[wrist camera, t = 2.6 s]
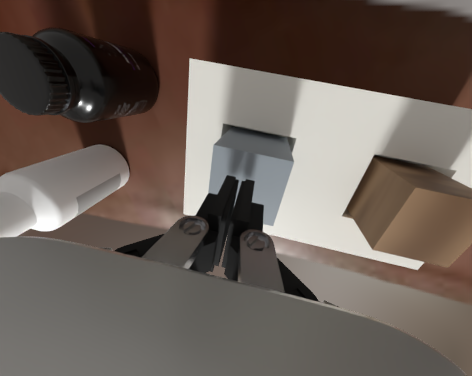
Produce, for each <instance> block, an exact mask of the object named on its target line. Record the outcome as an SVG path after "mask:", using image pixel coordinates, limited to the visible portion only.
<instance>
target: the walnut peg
mask: <svg viewBox="0 0 472 376" xmlns="http://www.w3.org/2000/svg"><path fill="white" fill-rule="evenodd" d="M346 208H347V210H348V211H349V213H350V215H351V216H352V218H353V219H354V221H355V223H356V224H357V226H358V227H359V229H360V231H361V232H362V234H363V236H364V237H365V239H366V240H367V242H368V244H369V245H370V247H371V248H372V250H375V251H380V252H384V253H388V254H392V255H396V256H401V257H405V258H409V259H413V260H418V261H422V262H426V263H430V264H435V265H439V266H443V267H447V268H448V267H449V266H450V265H451V264H452V263H453V262H454V261H455V260H456V259H457V258H458V257H459V256H460V255H461V254H462V253H463V252H464V251H465V250H466V249H467V248H468V247H469V246H470V245H471V244H472V188H470V187H468V186H466V185H464V184H462V183H460V182H458V181H456V180H454V179H452V178H450V177H448V176H446V175H444V174H442V173H440V172H438V171H436V170H434V169H432V168H430V167H428V166H424V165H419V164H414V163H410V162H405V161H400V160H395V159H390V158H385V157H380V156H375V155H374V156H373V158H372V160H371V162H370V164H369V166H368V168H367V169H366V171H365V173H364V175H363V177H362V179H361V181H360V183H359V185H358V186H357V188H356V190H355V192H354V194H353V196H352V198H351V200H350V202H349V203H348V205H347V207H346Z"/></svg>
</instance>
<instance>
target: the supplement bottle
mask: <svg viewBox="0 0 472 376" xmlns="http://www.w3.org/2000/svg"><path fill="white" fill-rule="evenodd" d="M0 94H1V95H2V96H3V98H4V99H5V100H7V101H8V102H9V103H10V104H11V105H13V106H14V107H15V108H16V109H18V110H20V111H22V112H24V113H27V114H29V115H46V114H49V115H61V116H63V117H65V118H67V119H70V120H72V121H76V122H83V123H87V122H95V121H101V120H107V119H113V118H119V117H124V116H130V115H136V114H141V113H144V112H147V111H148V110H150V109H151V108H152V107H153V106H154V104H155V102H156V100H157V97H158V81H157V77H156V74H155V72H154V69H153V68H152V66H151V64H150V63H149V62H148V60H147V59H146V58H145V57H144V56H142V55H141V54H140V53H138V52H137V51H135V50H133V49H130V48H127V47H124V46H120V45H117V44H113V43H110V42H107V41H103V40H100V39H96V38H93V37H89V36H86V35H83V34H79V33H76V32H72V31H69V30H65V29H60V28H46V29H42V30H40V31H38V32H36V33H35V34H34V35H33V36H27V35H18V34H13V33H9V32H0Z"/></svg>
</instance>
